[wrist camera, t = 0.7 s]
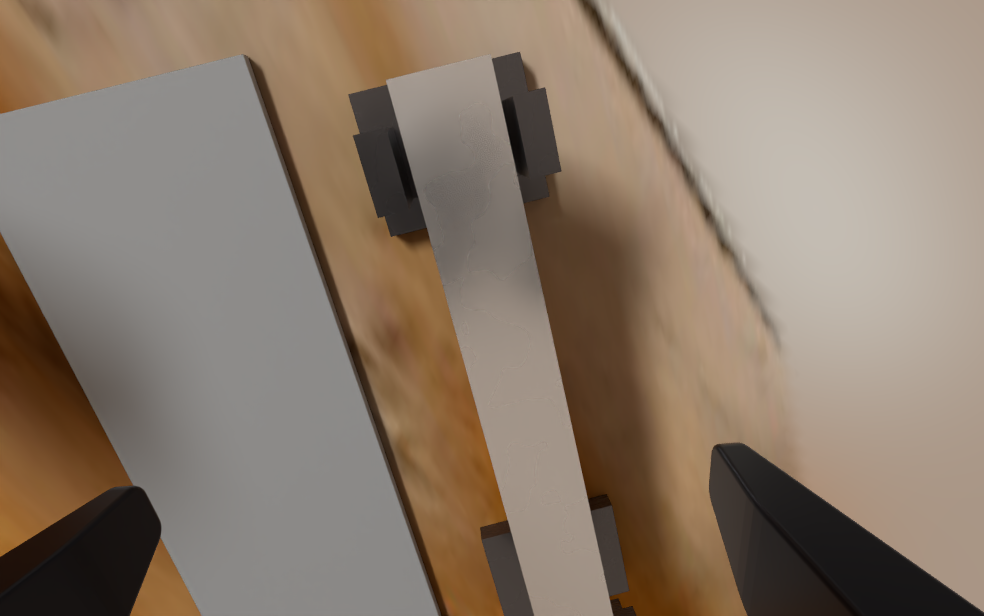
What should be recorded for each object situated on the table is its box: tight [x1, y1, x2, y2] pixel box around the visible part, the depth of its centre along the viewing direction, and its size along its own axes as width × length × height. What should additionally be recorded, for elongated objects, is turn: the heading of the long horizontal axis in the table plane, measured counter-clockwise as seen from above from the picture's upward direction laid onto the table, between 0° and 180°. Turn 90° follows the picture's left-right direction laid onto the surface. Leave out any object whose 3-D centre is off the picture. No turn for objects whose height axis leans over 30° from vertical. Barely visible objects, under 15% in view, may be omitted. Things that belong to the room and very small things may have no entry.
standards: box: [349, 52, 636, 616], centre depth 20 cm, size 24×6×7 cm, turn 13°
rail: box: [386, 54, 613, 616], centre depth 18 cm, size 23×2×2 cm, turn 13°
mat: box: [0, 54, 441, 616], centre depth 23 cm, size 28×10×1 cm, turn 13°
